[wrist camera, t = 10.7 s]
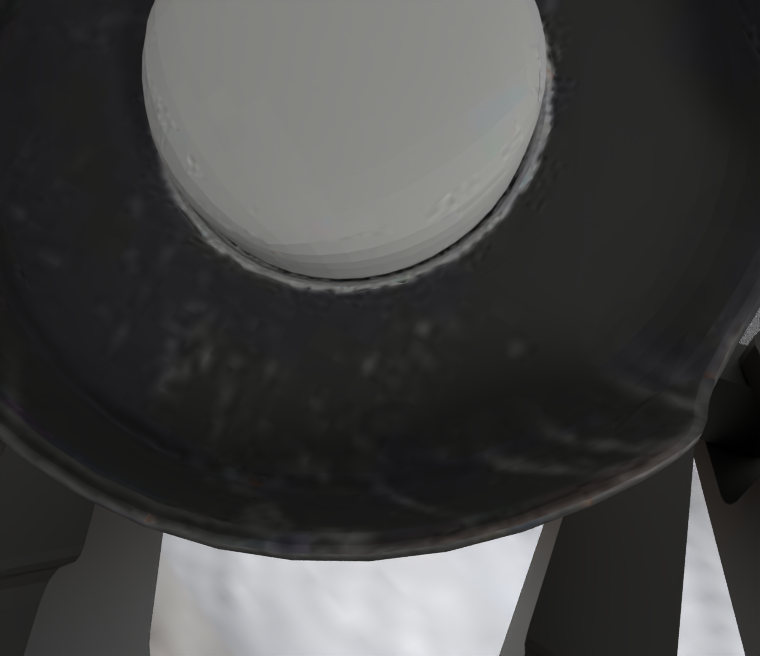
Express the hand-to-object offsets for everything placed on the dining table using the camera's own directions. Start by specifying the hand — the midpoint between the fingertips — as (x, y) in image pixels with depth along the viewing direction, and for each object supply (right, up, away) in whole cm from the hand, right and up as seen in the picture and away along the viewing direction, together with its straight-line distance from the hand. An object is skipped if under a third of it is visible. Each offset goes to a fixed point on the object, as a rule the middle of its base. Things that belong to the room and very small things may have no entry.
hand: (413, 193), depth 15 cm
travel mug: (0, -4, +8) cm, 9 cm away
